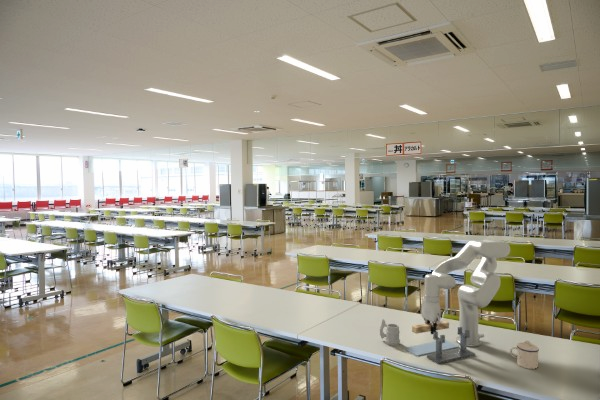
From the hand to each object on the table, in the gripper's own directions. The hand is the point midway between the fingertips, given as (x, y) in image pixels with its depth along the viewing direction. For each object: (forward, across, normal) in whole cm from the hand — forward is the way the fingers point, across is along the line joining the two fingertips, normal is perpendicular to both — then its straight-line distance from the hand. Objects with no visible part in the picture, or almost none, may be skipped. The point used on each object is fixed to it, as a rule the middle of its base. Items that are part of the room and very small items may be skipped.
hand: (430, 332), depth 203 cm
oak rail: (-3, 0, 0) cm, 3 cm away
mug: (+9, -15, -15) cm, 23 cm away
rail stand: (+9, +12, +3) cm, 15 cm away
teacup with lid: (+8, +32, +29) cm, 44 cm away
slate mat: (+9, 0, +1) cm, 9 cm away
